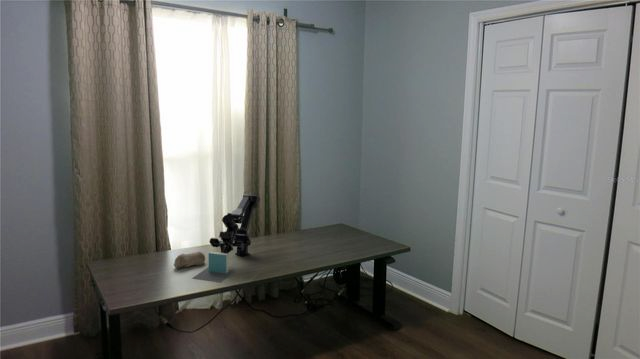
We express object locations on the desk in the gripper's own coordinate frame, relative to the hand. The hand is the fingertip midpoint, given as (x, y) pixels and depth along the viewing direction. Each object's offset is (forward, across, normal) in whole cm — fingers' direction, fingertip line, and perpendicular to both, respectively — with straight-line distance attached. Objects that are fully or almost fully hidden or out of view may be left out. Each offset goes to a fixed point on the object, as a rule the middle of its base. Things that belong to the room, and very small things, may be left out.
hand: (221, 257), depth 240 cm
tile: (+7, 0, +2) cm, 7 cm away
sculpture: (+5, -19, +5) cm, 20 cm away
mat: (+11, 0, -1) cm, 11 cm away
